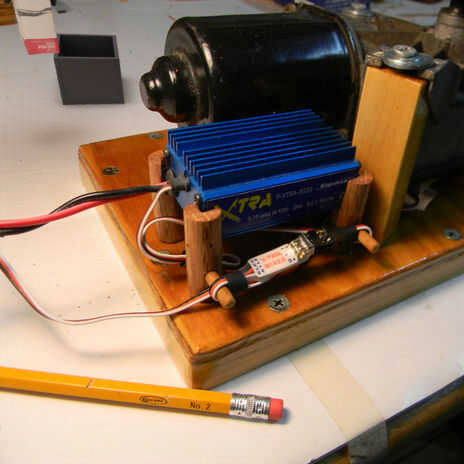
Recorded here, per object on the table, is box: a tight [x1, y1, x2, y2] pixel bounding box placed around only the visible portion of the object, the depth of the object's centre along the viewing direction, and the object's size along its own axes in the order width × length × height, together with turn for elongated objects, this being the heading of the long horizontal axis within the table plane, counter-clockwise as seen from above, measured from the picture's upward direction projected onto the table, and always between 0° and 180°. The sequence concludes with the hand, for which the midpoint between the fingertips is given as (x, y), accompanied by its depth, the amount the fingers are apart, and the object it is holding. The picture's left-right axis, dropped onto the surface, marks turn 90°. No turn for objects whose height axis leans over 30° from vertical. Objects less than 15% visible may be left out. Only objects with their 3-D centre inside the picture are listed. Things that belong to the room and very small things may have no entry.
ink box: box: [11, 0, 60, 56], centre depth 76 cm, size 9×5×12 cm, turn 32°
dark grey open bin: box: [53, 32, 125, 105], centre depth 102 cm, size 12×14×10 cm
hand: (31, 1), depth 75 cm, fingers closed on ink box, 5 cm apart
